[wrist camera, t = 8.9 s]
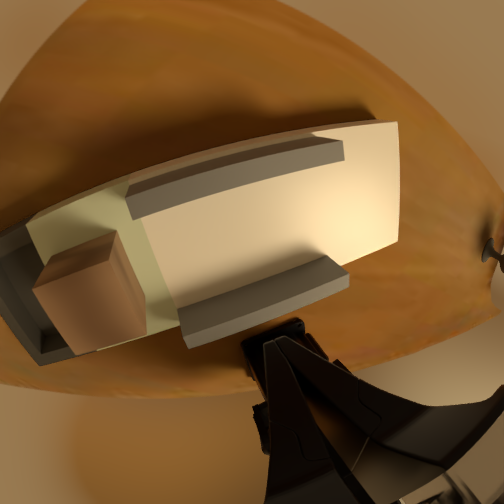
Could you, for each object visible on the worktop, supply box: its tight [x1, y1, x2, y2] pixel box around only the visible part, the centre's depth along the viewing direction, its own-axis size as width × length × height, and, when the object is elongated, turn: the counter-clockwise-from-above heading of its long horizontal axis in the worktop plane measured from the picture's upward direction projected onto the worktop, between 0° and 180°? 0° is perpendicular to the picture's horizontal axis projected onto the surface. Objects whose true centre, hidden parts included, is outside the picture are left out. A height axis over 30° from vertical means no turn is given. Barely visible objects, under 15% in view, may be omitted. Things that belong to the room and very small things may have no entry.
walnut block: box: [32, 230, 147, 355], centre depth 15 cm, size 5×5×4 cm
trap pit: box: [0, 213, 97, 366], centre depth 16 cm, size 6×11×2 cm, turn 10°
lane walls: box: [125, 136, 349, 349], centre depth 17 cm, size 12×10×3 cm
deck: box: [26, 119, 400, 351], centre depth 20 cm, size 28×11×2 cm, turn 100°
